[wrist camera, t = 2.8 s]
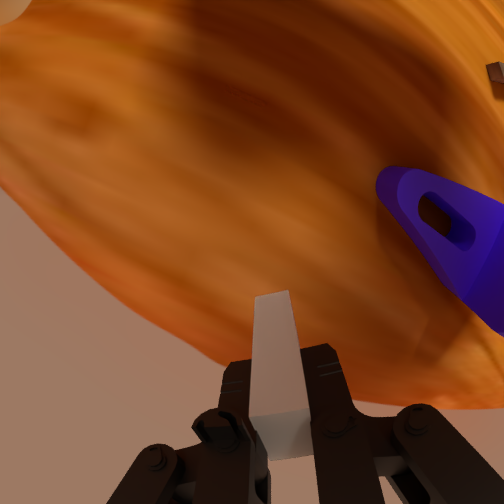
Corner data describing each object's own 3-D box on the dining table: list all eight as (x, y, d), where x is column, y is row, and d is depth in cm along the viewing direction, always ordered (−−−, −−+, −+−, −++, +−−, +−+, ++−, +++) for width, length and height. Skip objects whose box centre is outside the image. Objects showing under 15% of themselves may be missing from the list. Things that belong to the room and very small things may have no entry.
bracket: (500, 218, 22) (569, 250, 10) (461, 296, 25) (518, 351, 14) (400, 125, 20) (490, 114, 8) (350, 229, 23) (414, 289, 12)
